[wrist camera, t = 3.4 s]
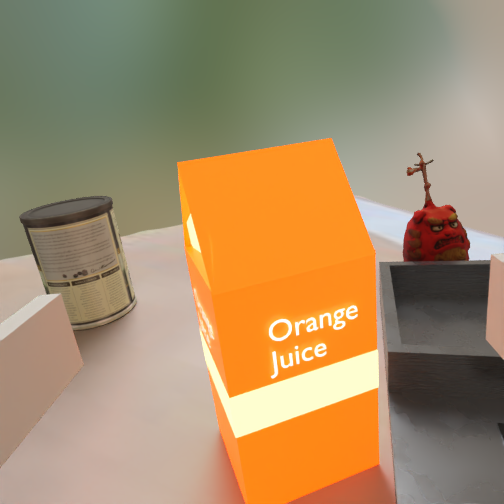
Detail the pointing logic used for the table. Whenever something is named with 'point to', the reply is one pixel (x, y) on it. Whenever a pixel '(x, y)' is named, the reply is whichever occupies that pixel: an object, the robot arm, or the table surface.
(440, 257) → the red clay folk toy
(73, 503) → the table surface
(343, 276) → the orange juice
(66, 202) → the coffee can
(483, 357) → the tray
